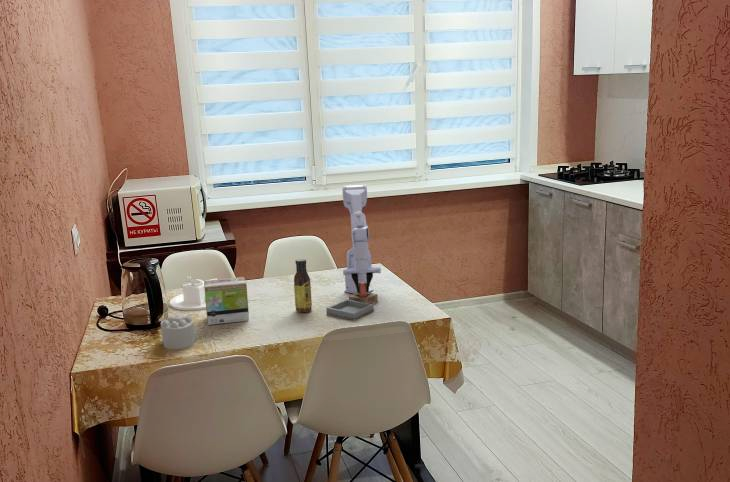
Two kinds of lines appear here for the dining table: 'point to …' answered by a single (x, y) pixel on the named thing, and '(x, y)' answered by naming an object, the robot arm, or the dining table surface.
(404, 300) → the dining table surface
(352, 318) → the tray
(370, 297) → the pin block
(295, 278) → the sauce bottle
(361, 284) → the pin
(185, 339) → the white bowl of pebbles
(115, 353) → the dining table surface
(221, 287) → the tea box
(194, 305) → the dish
